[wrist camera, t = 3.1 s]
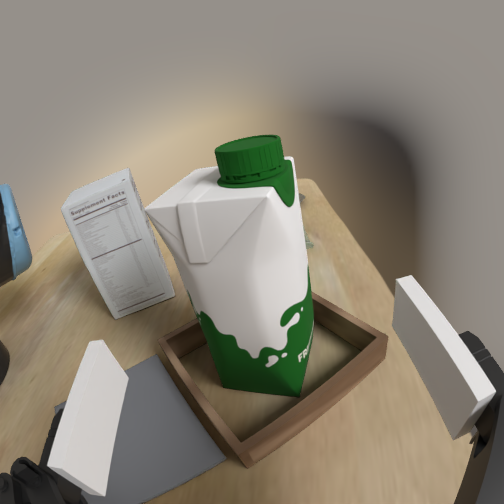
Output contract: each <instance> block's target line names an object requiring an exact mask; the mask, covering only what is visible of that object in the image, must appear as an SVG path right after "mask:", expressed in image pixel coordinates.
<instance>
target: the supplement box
mask: <svg viewBox="0 0 504 504" xmlns="http://www.w3.org/2000/svg"><path fill="white" fill-rule="evenodd" d="M61 211H62V214H63V216H64V219H65V221H66V224H67V226H68V228H69V230H70V233H71V235H72V237H73V239H74V242H75V244H76V246H77V248H78V250H79V253H80V255H81V257H82V259H83V261H84V264H85V265H86V267H87V269H88V271H89V273H90V275H91V277H92V279H93V281H94V283H95V284H96V286H97V288H98V290H99V292H100V294H101V296H102V298H103V299H104V301H105V303H106V305H107V307H108V309H109V310H110V312H111V314H112V316H113V317H114V319H118V318H121V317H123V316H126V315H128V314H131V313H133V312H136V311H139V310H141V309H144V308H146V307H149V306H151V305H154V304H156V303H159V302H162V301H164V300H167V299H169V298H172V297H174V296H175V292H174V289H173V285H172V282H171V279H170V275H169V272H168V269H167V267H166V264H165V261H164V259H163V256H162V254H161V251H160V248H159V246H158V243H157V241H156V238H155V236H154V233H153V230H152V228H151V225H150V223H149V220H148V217H147V215H146V212H145V210H144V207H143V205H142V202H141V199H140V196H139V194H138V191H137V188H136V185H135V183H134V180H133V177H132V174H131V171H130V169H129V168H127V169H124V170H122V171H119V172H116V173H114V174H112V175H109V176H106V177H104V178H102V179H100V180H97V181H94V182H92V183H90V184H87V185H85V186H83V187H81V188H78V189H76V190H74V191H72V192H71V194H70V195H69V197H68V198H67V200H66V201H65V203H64V204H63V206H62V208H61Z"/></svg>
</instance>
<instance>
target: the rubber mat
mask: <svg viewBox="0 0 504 504" xmlns="http://www.w3.org/2000/svg"><path fill="white" fill-rule="evenodd" d="M124 372H125V373H126V375H127V376H128V378H129V379H128V383H127V387H126V391H125V395H124V400H123V404H122V409H121V413H120V418H119V422H118V427H117V432H116V437H115V442H114V447H113V453H112V458H111V464H110V469H109V475H108V482H107V488H106V495H105V497H104V496H98V495H91V494H89V493H87V492H86V491H84V490H82V491H81V494H82V495H83V496H84V498H85V499H86V501H87V502H88V504H142V503H145V502H147V501H149V500H151V499H153V498H155V497H158V496H160V495H162V494H164V493H166V492H168V491H170V490H172V489H174V488H176V487H178V486H180V485H182V484H184V483H186V482H188V481H189V480H191V479H193V478H195V477H197V476H199V475H200V474H202V473H204V472H206V471H208V470H209V469H211V468H213V467H215V466H216V465H218V464H220V463H221V462H223V461H225V460H226V459H227V458H226V457H225V456H224V454H223V453H222V452H221V450H220V449H219V448H218V446H217V445H216V444H215V442H214V441H213V440H212V438H211V437H210V435H209V434H208V433H207V431H206V430H205V428H204V427H203V426H202V424H201V423H200V421H199V420H198V418H197V417H196V416H195V414H194V413H193V411H192V410H191V408H190V407H189V405H188V404H187V402H186V401H185V399H184V398H183V396H182V395H181V393H180V391H179V390H178V388H177V387H176V385H175V384H174V382H173V380H172V379H171V377H170V376H169V374H168V372H167V371H166V369H165V367H164V366H163V364H162V362H161V361H160V359H159V357H158V356H157V354H156V355H154V356H152V357H150V358H148V359H146V360H145V361H143V362H141V363H139V364H137V365H135V366H133V367H131V368H130V369H128V370H126V371H124ZM66 402H67V401H65V402H63V403H61V404H59V405H57V406H55V407H54V408H55V414H57V412H58V411H59V409H64V408H65V405H66Z"/></svg>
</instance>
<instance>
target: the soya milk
mask: <svg viewBox="0 0 504 504" xmlns="http://www.w3.org/2000/svg"><path fill="white" fill-rule="evenodd" d="M215 155H216V160H217V164H218V166H214V167H207V168H201V169H196V170H194V171H193V172H192V173H190V174H189V175H187V176H186V177H185V178H183V179H182V180H181V181H179V182H178V183H177V184H175V185H174V186H173V187H171V188H170V189H169V190H168V191H166V192H165V193H164V194H162V195H161V196H160V197H159V198H157V199H156V200H155V201H154V202H152V203H151V204H150V205H148V206H147V207H146V208H145V209H144V210H145V212H146V214H147V215H148V217H149V218H150V220H151V222H152V223H153V225H154V226H155V228H156V230H157V231H158V233H159V234H160V236H161V237H162V239H163V241H164V242H165V244H166V245H167V247H168V248H169V250H170V252H171V253H172V255H173V257H174V260H175V262H176V265H177V268H178V270H179V273H180V276H181V278H182V281H183V283H184V286H185V289H186V291H187V294H188V296H189V299H190V301H191V304H192V306H193V309H194V311H195V314H196V316H197V319H198V321H199V323H200V326H201V328H202V331H203V333H204V336H205V338H206V340H207V343H208V346H209V349H210V352H211V355H212V358H213V360H214V363H215V366H216V369H217V372H218V374H219V377H220V380H221V383H222V385H223V388H229V389H236V390H243V391H250V392H258V393H266V394H275V395H285V396H295V397H300V393H301V389H302V384H303V380H304V376H305V371H306V367H307V362H308V358H309V353H310V349H311V344H312V339H313V327H314V312H313V302H312V293H311V284H310V275H309V267H308V259H307V251H306V244H305V236H304V230H303V223H302V216H301V209H300V201H299V194H298V187H297V180H296V173H295V166H294V159H293V158H292V157H284V155H283V150H282V145H281V140H280V137H279V136H277V135H259V136H252V137H247V138H243V139H238V140H234V141H231V142H228V143H225V144H223V145H221V146H219V147H217V148H216V149H215Z"/></svg>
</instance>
